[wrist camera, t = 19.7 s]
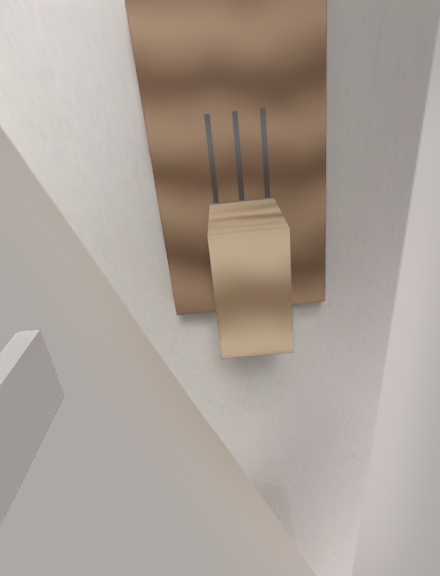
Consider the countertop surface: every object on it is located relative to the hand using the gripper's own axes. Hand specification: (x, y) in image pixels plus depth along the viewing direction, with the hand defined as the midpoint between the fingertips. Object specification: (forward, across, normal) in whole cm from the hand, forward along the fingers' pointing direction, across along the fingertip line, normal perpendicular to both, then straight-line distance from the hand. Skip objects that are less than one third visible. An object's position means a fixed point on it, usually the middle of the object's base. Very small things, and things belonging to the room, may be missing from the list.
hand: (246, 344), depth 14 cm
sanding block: (+21, +1, -6) cm, 22 cm away
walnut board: (+23, +1, +1) cm, 23 cm away
